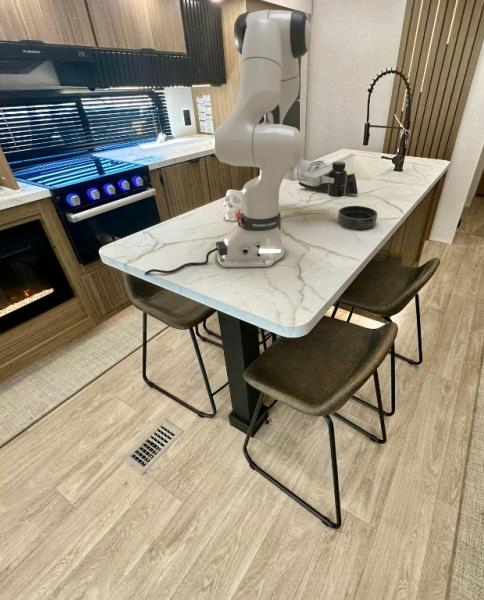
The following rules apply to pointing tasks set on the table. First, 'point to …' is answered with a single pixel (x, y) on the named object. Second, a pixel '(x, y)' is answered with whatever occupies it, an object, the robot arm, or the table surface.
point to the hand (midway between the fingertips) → (339, 178)
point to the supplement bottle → (337, 180)
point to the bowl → (357, 217)
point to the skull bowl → (233, 204)
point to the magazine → (350, 186)
